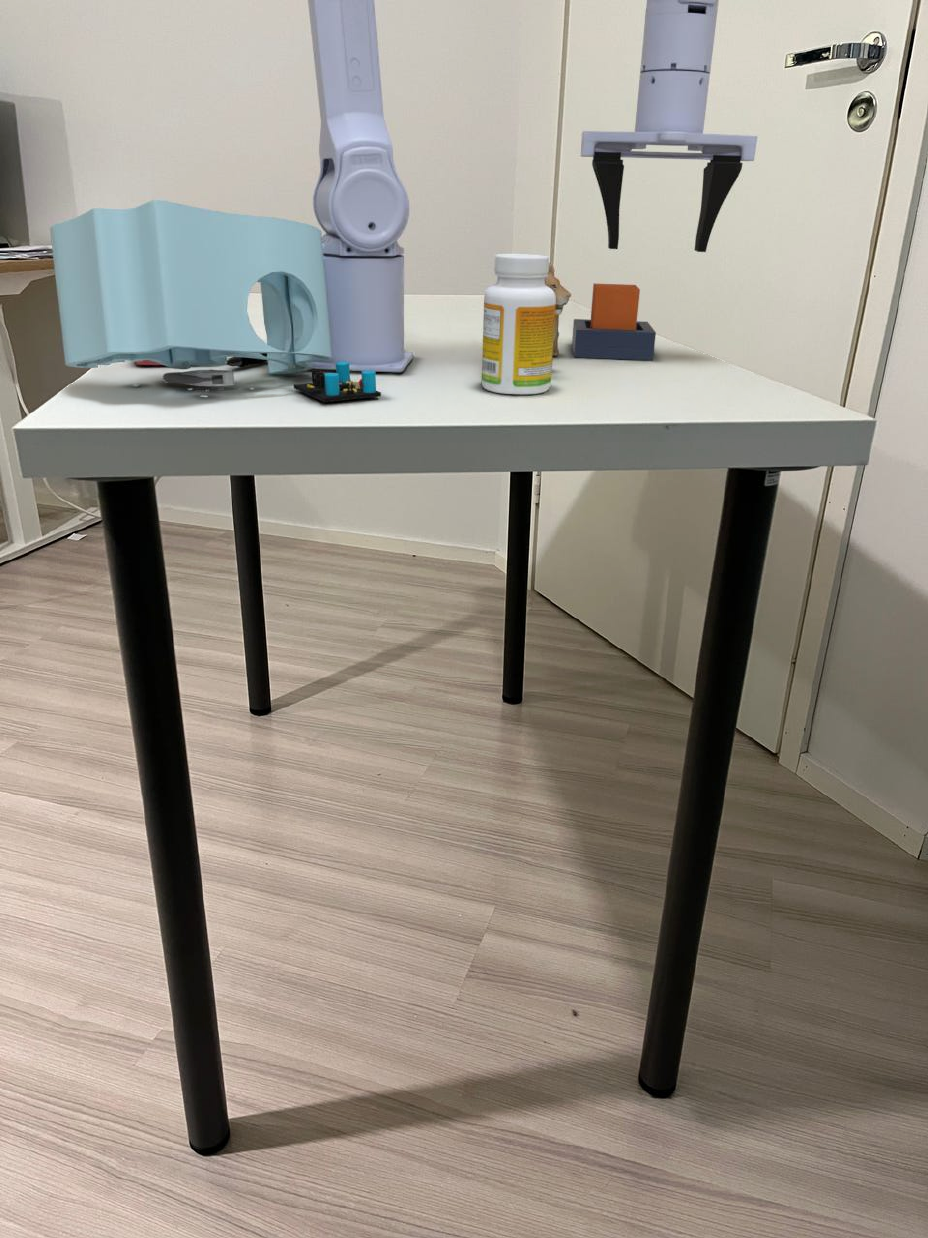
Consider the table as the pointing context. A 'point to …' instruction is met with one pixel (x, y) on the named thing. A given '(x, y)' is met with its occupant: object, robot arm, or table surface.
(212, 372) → the grey piece
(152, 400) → the table surface
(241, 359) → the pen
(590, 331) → the blue square tray
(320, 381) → the circuit board
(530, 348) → the supplement bottle
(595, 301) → the orange rectangular block
